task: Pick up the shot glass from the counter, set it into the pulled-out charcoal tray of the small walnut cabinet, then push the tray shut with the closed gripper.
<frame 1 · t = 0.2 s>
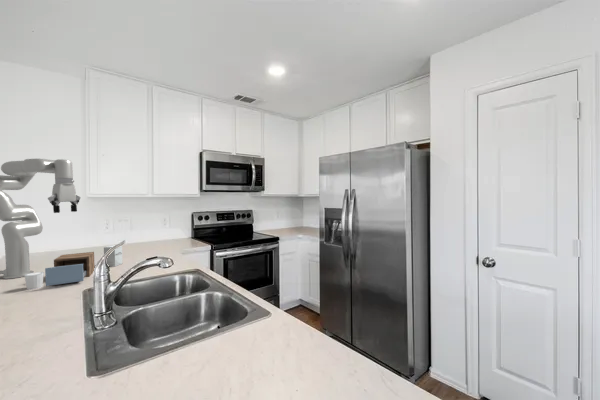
hand: (65, 212, 150), 37 cm above the worktop, tool pointing down, fingers open, 9 cm apart
supplement box: (113, 265, 175), on the worktop
cabinet: (75, 275, 153), on the worktop
shot glass: (34, 287, 134), on the worktop
tray: (68, 271, 141), point 6 cm above the worktop, slide at 12.0 cm
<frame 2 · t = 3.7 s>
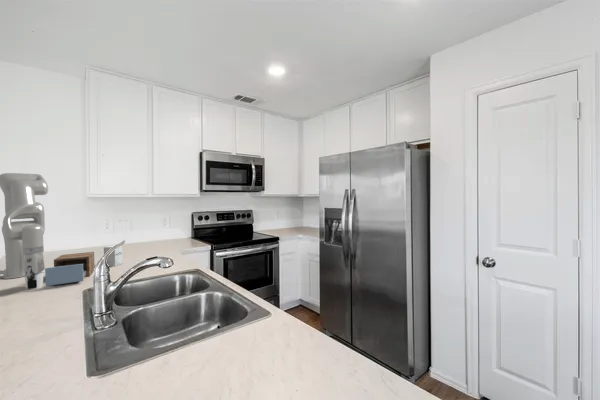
hand: (34, 286, 134), 1 cm above the worktop, tool pointing down, fingers closed on shot glass, 5 cm apart
shot glass: (34, 287, 134), on the worktop, touching gripper
everything else where it was.
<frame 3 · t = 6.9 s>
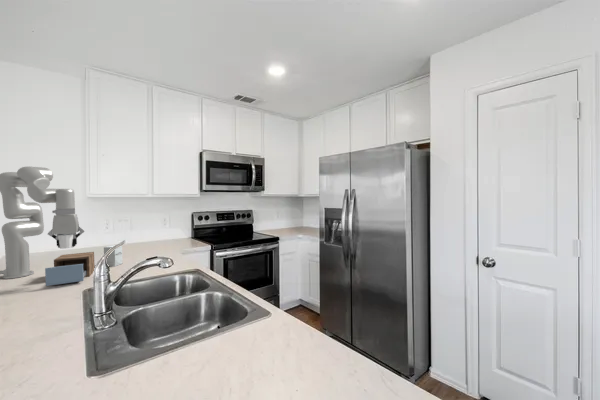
hand: (67, 246, 140), 19 cm above the worktop, tool pointing down, fingers closed on shot glass, 5 cm apart
shot glass: (66, 247, 140), point 18 cm above the worktop, touching gripper
everything else where it was.
when the fingers open (4 cm above the worktop, at t = 10.5 s): shot glass drops 1 cm, resting on tray.
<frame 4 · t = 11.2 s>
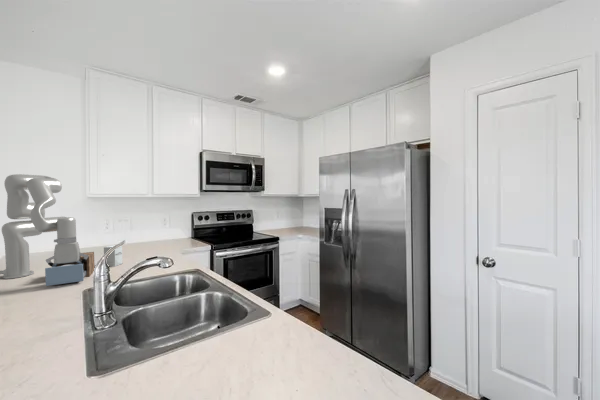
hand: (68, 273, 141), 5 cm above the worktop, tool pointing down, fingers open, 9 cm apart
shot glass: (66, 279, 140), point 2 cm above the worktop, touching tray
tray: (68, 271, 141), point 6 cm above the worktop, slide at 12.0 cm, touching shot glass
everything else where it was.
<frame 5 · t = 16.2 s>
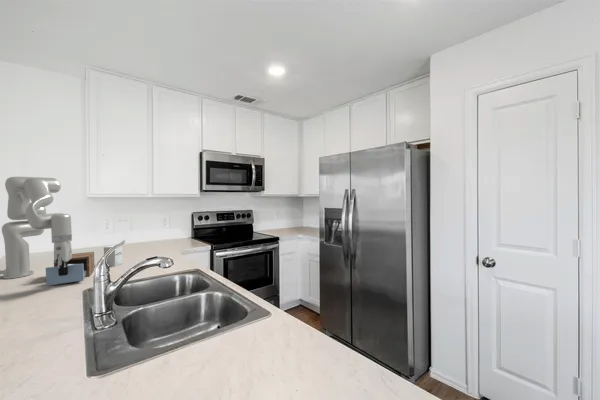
hand: (63, 275, 133), 6 cm above the worktop, tool pointing down, fingers closed
tray: (69, 271, 142), point 6 cm above the worktop, slide at 11.3 cm, touching shot glass
everything else where it was.
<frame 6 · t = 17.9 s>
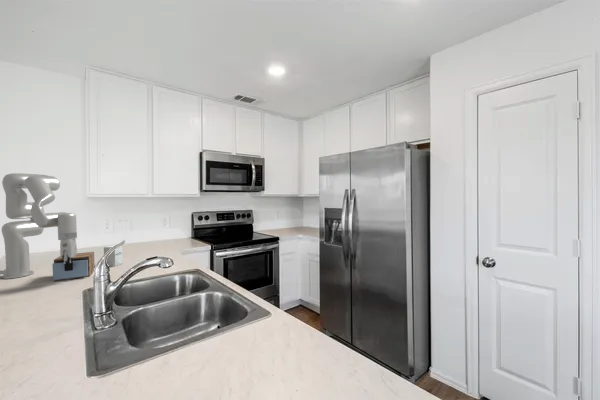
hand: (68, 270, 142), 6 cm above the worktop, tool pointing down, fingers closed
shot glass: (72, 274, 149), point 2 cm above the worktop, touching tray
tray: (74, 266, 150), point 6 cm above the worktop, slide at 1.7 cm, touching gripper, shot glass
everything else where it was.
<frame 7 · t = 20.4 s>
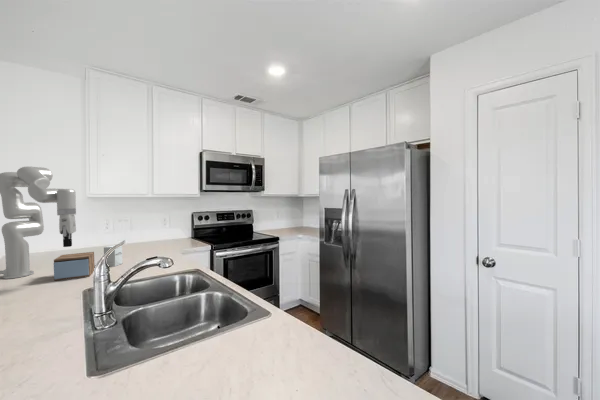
hand: (67, 246, 142), 19 cm above the worktop, tool pointing down, fingers closed
shot glass: (72, 273, 151), point 2 cm above the worktop, touching tray
tray: (74, 266, 152), point 6 cm above the worktop, slide at 0.0 cm, touching shot glass
everything else where it was.
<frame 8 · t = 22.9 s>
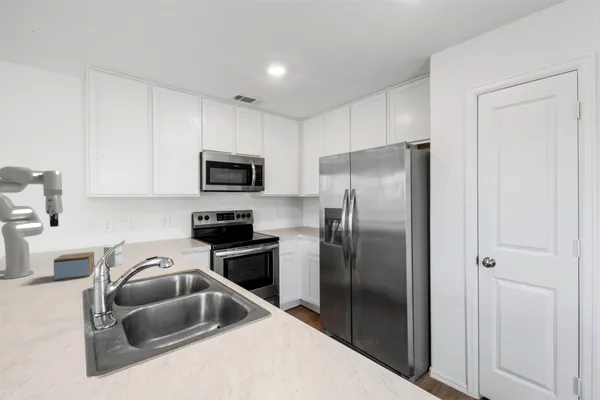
hand: (54, 226, 147), 29 cm above the worktop, tool pointing down, fingers closed
nothing on the worktop moved.
at the end: tray slide at 0.0 cm; shot glass inside the target area (2.1 cm from its centre), point 1.7 cm above the worktop; shot glass tilted 0° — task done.
